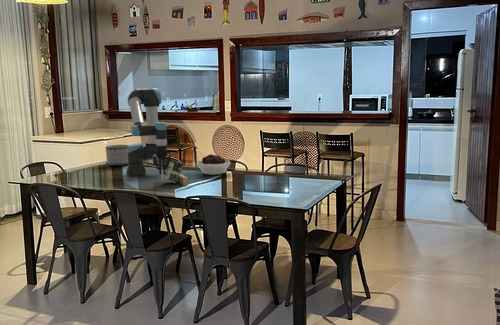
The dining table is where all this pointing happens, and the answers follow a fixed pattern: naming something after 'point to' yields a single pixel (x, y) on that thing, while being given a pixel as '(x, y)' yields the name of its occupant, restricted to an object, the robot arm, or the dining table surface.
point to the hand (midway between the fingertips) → (162, 179)
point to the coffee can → (173, 171)
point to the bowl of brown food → (213, 165)
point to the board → (183, 180)
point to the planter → (117, 155)
